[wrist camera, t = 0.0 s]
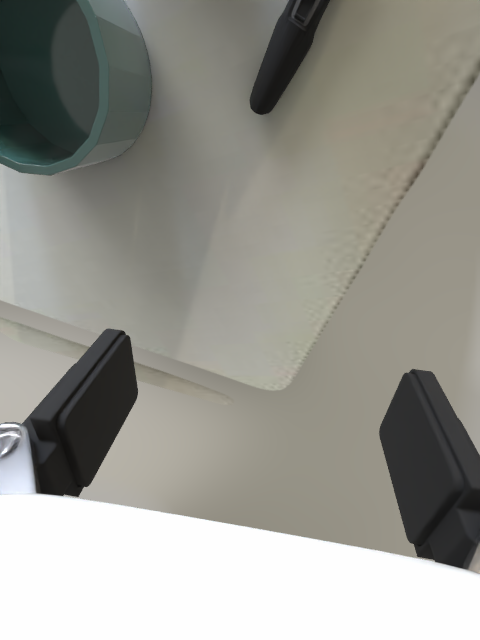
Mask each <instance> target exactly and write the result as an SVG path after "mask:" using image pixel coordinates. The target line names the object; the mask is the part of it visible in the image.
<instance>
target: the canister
mask: <svg viewBox="0 0 480 640" xmlns="http://www.w3.org/2000/svg"><path fill="white" fill-rule="evenodd" d="M151 93H152V79H151V70H150V62H149V58H148V53H147V49H146V46H145V43H144V40H143V37H142V34H141V32H140V30H139V27H138V25H137V23H136V21H135V19H134V17H133V15H132V13H131V12H130V10H129V8H128V7H127V5H126V3H125V2H124V0H0V163H1V164H3V165H5V166H7V167H10V168H12V169H14V170H16V171H18V172H21V173H29V174H39V175H55V174H59V173H62V172H66V171H70V170H74V169H78V168H82V167H86V166H90V165H93V164H97V163H101V162H103V161H106V160H109V159H112V158H115V157H118V156H120V155H121V154H122V153H123V152H125V151H126V150H127V149H129V148H130V146H131V145H132V144H133V143H134V142H135V141H136V139H137V138H138V137H139V135H140V133H141V131H142V129H143V127H144V125H145V123H146V120H147V117H148V113H149V108H150V104H151Z"/></svg>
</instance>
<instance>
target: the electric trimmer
mask: <svg viewBox="0 0 480 640" xmlns="http://www.w3.org/2000/svg"><path fill="white" fill-rule="evenodd" d="M329 1H330V0H289V2H288V4H287V6H286V8H285V10H284V12H283V13H282V15H281V16H280V18H279V19H278V22H277V24H276V26H275V29H274V32H273V34H272V37H271V40H270V42H269V45H268V48H267V51H266V53H265V56H264V59H263V62H262V64H261V67H260V70H259V73H258V75H257V78H256V81H255V84H254V86H253V90H252V93H251V96H250V106H251V109H252V110H253V111H254V112H255V113H257V114H260V115H263V114H267V113H270V112H271V111H272V109H273V108H274V106H275V105H276V103H277V102H278V100H279V99H280V97H281V95H282V94H283V92H284V90H285V89H286V87H287V85H288V84H289V82H290V81H291V79H292V77H293V76H294V74H295V72H296V71H297V69H298V67H299V66H300V64H301V62H302V61H303V59H304V57H305V56H306V54H307V52H308V50H309V49H310V47H311V45H312V42H313V38H314V34H315V31H316V29H317V26H318V24H319V21H320V19H321V17H322V15H323V13H324V11H325V9H326V7H327V5H328V3H329Z"/></svg>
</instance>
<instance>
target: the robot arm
mask: <svg viewBox="0 0 480 640" xmlns="http://www.w3.org/2000/svg"><path fill="white" fill-rule="evenodd" d="M137 395H138V388H137V381H136V375H135V368H134V361H133V355H132V347H131V341H130V337H129V336H128V335H126V334H125V332H124V331H122V330H114V329H106V330H105V331H104V332H103V333H102V334H101V335H100V336H99V338H98V339H97V340H96V341H95V342H94V343H93V345H92V346H91V347H90V348H89V349H88V350H87V351H86V353H85V354H84V355H83V356H82V357H81V358H80V360H79V361H78V362H77V363H76V364H74V365H73V366H72V367H71V368H70V369H69V370H68V372H67V373H66V374H65V375H64V376H63V377H62V379H61V380H60V381H59V382H58V383H57V384H56V386H55V387H54V388H53V389H52V390H51V391H50V392H49V394H48V395H47V396H46V397H45V398H44V399H43V400H42V402H41V403H40V404H39V405H38V406H37V407H36V408H35V410H34V411H33V412H32V413H31V414H30V415H29V417H28V418H27V419H26V420H25V421H24V422H23V423H22V424H20V423H16V422H6V423H1V424H0V640H480V455H479V454H478V452H477V450H476V448H475V446H474V444H473V442H472V441H471V439H470V437H469V435H468V433H467V431H466V430H465V428H464V426H463V424H462V422H461V421H460V420H459V419H458V418H457V416H456V414H455V412H454V410H453V408H452V407H451V405H450V403H449V401H448V399H447V397H446V396H445V394H444V392H443V390H442V388H441V386H440V385H439V383H438V381H437V379H436V377H435V375H434V374H433V373H432V372H431V371H423V370H415V369H412V370H411V371H410V372H409V373H405V374H404V375H403V377H402V379H401V381H400V383H399V386H398V388H397V390H396V392H395V395H394V397H393V399H392V401H391V404H390V406H389V408H388V410H387V413H386V415H385V417H384V419H383V421H382V424H381V426H380V431H379V433H380V440H381V443H382V447H383V450H384V454H385V458H386V461H387V466H388V469H389V473H390V477H391V480H392V484H393V487H394V492H395V495H396V499H397V503H398V506H399V510H400V513H401V517H402V521H403V524H404V528H405V532H406V536H407V539H408V541H409V542H410V543H413V544H414V546H415V550H416V553H417V556H418V557H422V558H428V559H433V560H435V562H433V561H427V560H423V559H418V558H412V557H407V556H402V555H397V554H392V553H387V552H383V551H377V550H372V549H366V548H360V547H355V546H350V545H344V544H339V543H333V542H328V541H322V540H316V539H311V538H306V537H300V536H294V535H289V534H284V533H278V532H272V531H266V530H261V529H256V528H250V527H244V526H239V525H233V524H227V523H221V522H216V521H210V520H204V519H199V518H193V517H187V516H181V515H175V514H169V513H164V512H158V511H152V510H146V509H140V508H135V507H129V506H123V505H117V504H111V503H105V502H98V501H91V500H85V499H78V498H71V497H64V496H63V495H64V494H65V495H70V496H76V497H79V495H80V493H81V491H82V489H83V488H84V487H88V486H89V485H90V484H91V482H92V480H93V478H94V477H95V475H96V473H97V471H98V469H99V467H100V466H101V463H102V462H103V460H104V458H105V456H106V454H107V453H108V451H109V449H110V447H111V445H112V444H113V442H114V440H115V438H116V436H117V434H118V433H119V431H120V429H121V427H122V425H123V423H124V422H125V420H126V418H127V416H128V414H129V412H130V410H131V409H132V407H133V405H134V403H135V401H136V399H137Z"/></svg>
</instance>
